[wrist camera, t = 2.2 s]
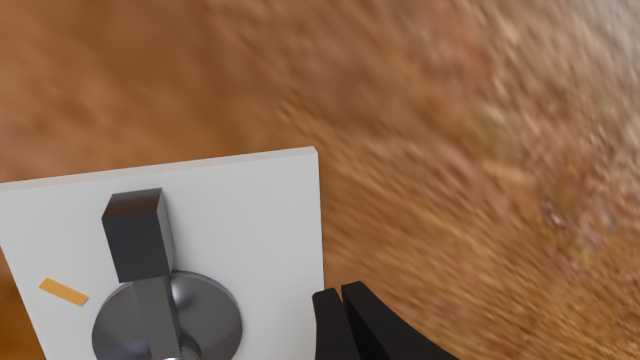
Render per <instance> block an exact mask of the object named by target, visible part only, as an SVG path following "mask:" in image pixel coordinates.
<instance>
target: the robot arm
mask: <svg viewBox="0 0 640 360" xmlns="http://www.w3.org/2000/svg"><path fill="white" fill-rule="evenodd" d="M341 292H342V299H343V303H342V301H341V299H340V297H339V295H338V293H337V292H336V290H335V288H330V289H326V290H323V291H319V292H315V293H314V294H313V295H312V302H313V308H314V313H315V319H316V351H315V360H460V359H458V358H456V357H455V356H453V355H451V354H450V353H448V352H447V351H445V350H443V349H442V348H440V347H439V346H437V345H436V344H435V343H433V342H432V341H430V340H429V339H427V338H426V337H425V336H423V335H422V334H421V333H419V332H418V331H417V330H415V329H414V328H413V327H411V326H410V325H409V324H408V323H406V322H405V321H404V320H403V319H402V318H400V317H399V316H398V315H397V314H396V313H394V312H393V311H392V310H391V309H390V308H389V307H387V306H386V305H385V304H384V303H383V302H382V301H381V300H380V299H379V298H378V297H377V296H376V295H375V294H374V293H373V292H372V291H371V290H370V289H369V288H368V287H367V286H366V285H365V284H364V283H362V282H361V281H357V282H354V283H350V284H346V285H342V286H341Z"/></svg>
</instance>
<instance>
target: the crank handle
mask: <svg viewBox="0 0 640 360" xmlns="http://www.w3.org/2000/svg"><path fill="white" fill-rule="evenodd" d="M101 220H102V224H103V227H104V231H105V235H106V238H107V242H108V245H109V249H110V252H111V256H112V259H113V263H114V266H115V270H116V273H117V277H118V280H119V283H124V284H123V285H121V286H120V287H118V288H117V289H116V290H115V291H113V292H112V293H111V294H110V295H109V296H108V297H107V298H106V300H105V301H104V303H103V304H102V305H101V307H100V309H99V311H98V314H97V317H96V320H95V323H94V326H93V329H92V336H91V338H92V347H93V351H94V354H95V356H96V358H97V360H231V359H232V358H233V356H234V355H235V353H236V352H237V350H238V347H239V345H240V342H241V338H242V331H243V330H242V318H241V312H240V308H239V306H238V303H237V301H236V300H235V298H234V297H233V295H232V294H231V293H230V292H229V291H228V290H227V289H226V288H225V287H224V286H223V285H222V284H220V283H218V282H217V281H215V280H214V279H211V278H209V277H207V276H205V275H202V274H199V273H195V272H190V271H182V270H172V262H173V254H174V242H173V237H172V233H171V228H170V223H169V218H168V214H167V209H166V204H165V199H164V195H163V190H162V188H154V189H146V190H138V191H131V192H123V193H115V194H112V196H111V198H110V200H109V202H108V204H107V207H106V209H105V211H104V213H103V215H102V218H101ZM125 282H126V283H125Z"/></svg>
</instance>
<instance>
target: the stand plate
mask: <svg viewBox="0 0 640 360" xmlns="http://www.w3.org/2000/svg"><path fill="white" fill-rule="evenodd" d="M154 188H162V190H163V195H164V199H165V204H166V209H167V214H168V218H169V223H170V228H171V233H172V237H173V242H174V254H173V262H172V270H182V271H190V272H195V273H199V274H202V275H205V276H207V277H209V278H211V279H214V280H215V281H217V282H218V283H220V284H222V285H223V286H224V287H225V288H226V289H227V290H228V291H229V292H230V293H231V294H232V295H233V297H234V298H235V300H236V301H237V303H238V306H239V308H240V312H241V318H242V330H243V331H242V338H241V342H240V345H239V347H238V350H237V352H236V353H235V355H234V356H233V358H232V359H231V360H315V351H316V319H315V313H314V308H313V302H312V295H313V294H314V293H315V292H319V291H323V290H324V279H323V257H322V235H321V213H320V191H319V169H318V153H317V151H316V150H315V148H314V147H313V146H310V147H302V148H294V149H285V150H277V151H268V152H260V153H251V154H243V155H235V156H226V157H218V158H209V159H201V160H193V161H184V162H176V163H167V164H159V165H150V166H142V167H134V168H125V169H117V170H108V171H100V172H91V173H83V174H75V175H66V176H58V177H49V178H41V179H32V180H24V181H16V182H7V183H0V245H1V248H2V250H3V253H4V255H5V258H6V260H7V262H8V265H9V267H10V270H11V272H12V275H13V277H14V280H15V282H16V285H17V287H18V290H19V292H20V295H21V297H22V300H23V302H24V305H25V307H26V309H27V312H28V314H29V317H30V319H31V322H32V324H33V327H34V329H35V332H36V334H37V337H38V339H39V342H40V344H41V347H42V349H43V352H44V354H45V356H46V359H47V360H97V358H96V356H95V354H94V351H93V347H92V338H91V336H92V329H93V326H94V323H95V320H96V317H97V314H98V311H99V309H100V307H101V305H102V304H103V303H104V301H105V300H106V298H107V297H108V296H109V295H110V294H111V293H112V292H113V291H115V290H116V289H117V288H118V287H120V286H121V285H123V284H124V283H119V280H118V277H117V273H116V270H115V266H114V263H113V259H112V256H111V252H110V249H109V245H108V242H107V238H106V235H105V231H104V227H103V224H102V220H101V218H102V215H103V213H104V211H105V209H106V207H107V204H108V202H109V200H110V198H111V196H112V194H115V193H123V192H131V191H138V190H146V189H154ZM125 283H126V282H125Z"/></svg>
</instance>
